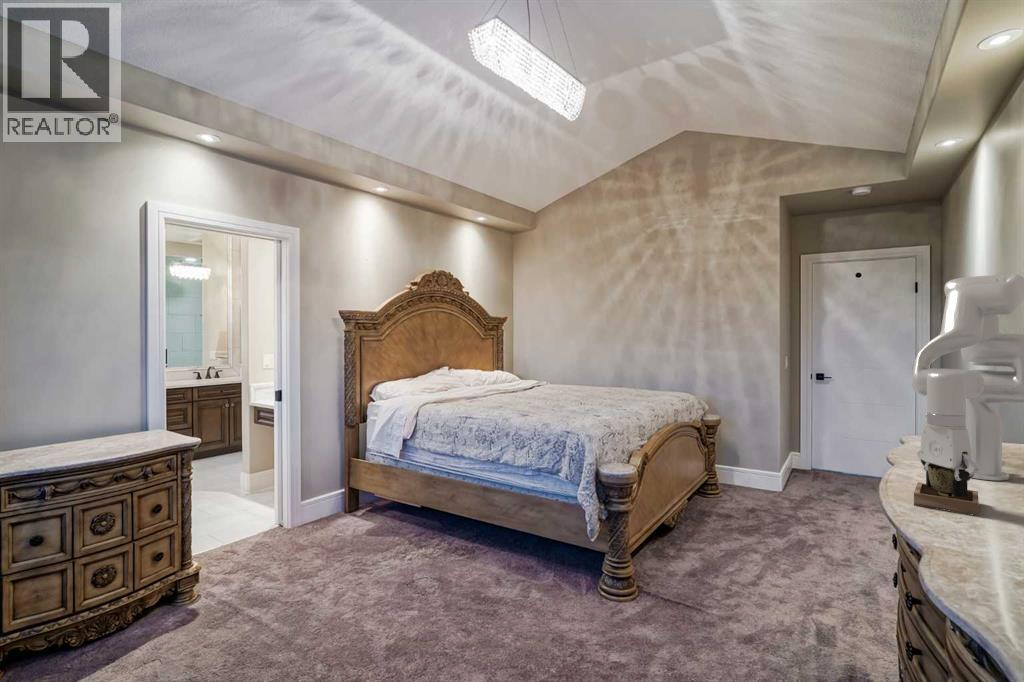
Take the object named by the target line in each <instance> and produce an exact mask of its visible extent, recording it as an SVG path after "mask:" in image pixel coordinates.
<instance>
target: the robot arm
mask: <svg viewBox="0 0 1024 682" xmlns="http://www.w3.org/2000/svg"><path fill="white" fill-rule="evenodd" d="M943 287H944V288H943V289H944V295H945V297H946V298H945V301H944V309H943V316H942V322H941V327H940V333H939V334H938V335H936V336H935V337H934V338H932V339H931V340H929V342H927V343H926V344H925V345H924V346H923V347H922V348H921V349H920V350H919V352H918V353H917V355H916V357H915V360H914V363H913V364H914V365H913V369H912V370H913V371H912V375H911V376H912V377H911V387H912V389H913V391H914V392H915V393H916V394H918V395H919V396H925V397H926V414H925V417H926V423H924V425H923V428H922V433H921V438H920V439H921V440H920V450H919V451H917V452H916V455H917V457H918V458H919V459H920V463H921V464H922V465H923V470H924V472H925V478H926V479H925V484H926V486H927V487H932V486H931V483H930V480H929V474H928V467H927V464H929V463H930V465H931V466H932V464H933V465H937V466H940V467H944V468H947V469H952V472H953V474H954V477H955V479H956V480H953V495H954V496H956V497H961V496H967V490H968V482H970V481H971V479H976V480H982V481H983V480H984V481H999V482H1000V481H1007V480H1010V474H1009V473H1008V472H1005V471H1003V467H1005V466H1006V465H1007V462H1006V461H1005V460H1003V419H1002V416H1001V414H1000V413H999V411H997V410H996V408H995V407H994V406H993V405H992V404H1006V405H1023V406H1024V333H1001V332H1000V325H999V324H1000V323H999V322H1000V320H999V315H1000V316H1001V315H1011V314H1014V313H1015V312H1017V311H1018V309H1019V308H1020V306H1021V305H1022V303H1023V302H1024V277H1023V276H1022V275H1020V274H1017V273H1016V274H1014V273H1013V274H1012V273H1009V274H996V275H995V274H993V275H978V276H967V277H958V278H953V279H950V280H949V281H947V282H946V283H945V284H944V286H943ZM959 350H960V354H961V359H962V361H963V362H964V363H966V364H968V365H972V366H982V367H984V366H985V367H989V366H990V367H1010V368H1012V369H1013V370H996V369H994V370H993V369H991V370H990V369H989V370H988V369H961V368H960V369H958V368H957V369H955V368H938V367H937V368H934V367H931V368H930V366H931V364H932V363H933V362H934V361H936V360H937V359H938V358H939V357H942V356H944V355H947V354H949V353H953V352H956V351H959ZM958 470H961V471H962V470H963V473H961V474H960V473H959V471H958Z"/></svg>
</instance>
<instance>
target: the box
mask: <svg viewBox="0 0 1024 682" xmlns="http://www.w3.org/2000/svg"><path fill="white" fill-rule="evenodd" d="M915 505H916V507H921V506H922V507H921V508H927V507H930V508H929V509H933V508H938V509H937V510H939V509H945V510H950V511H949V512H951V511H954V512H953V513H957V512H959V513H958V514H963V513H965V514H964V515H969V514H973V515H972V516H974V515H978V516H979V491H977V490H971V489H967V496H961V497H955V499H953V498H947V497H940V496H938V495H937V490H935V489H934V488H933V487H927V486H926V483H921V482H917V483H916V486H915V489H914V492H913V506H915ZM945 510H944V511H945Z"/></svg>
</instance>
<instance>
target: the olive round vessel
mask: <svg viewBox="0 0 1024 682" xmlns="http://www.w3.org/2000/svg"><path fill="white" fill-rule="evenodd" d="M927 467H928V474H929V480H930V483H931V486H932V487H933V488H934V489H935V490H937V495H938V496H940V497H947V498H953V499H955V497H956V496H954V495H953V480H956V479H955V477H954V474H953V472H952V469H947V468H944V467H940V466H937V465H933V464H932V466H931V465H930V463H929V464H927ZM958 471H959V473H960V474H961V473H963V470H962V471H961V470H958Z"/></svg>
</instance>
